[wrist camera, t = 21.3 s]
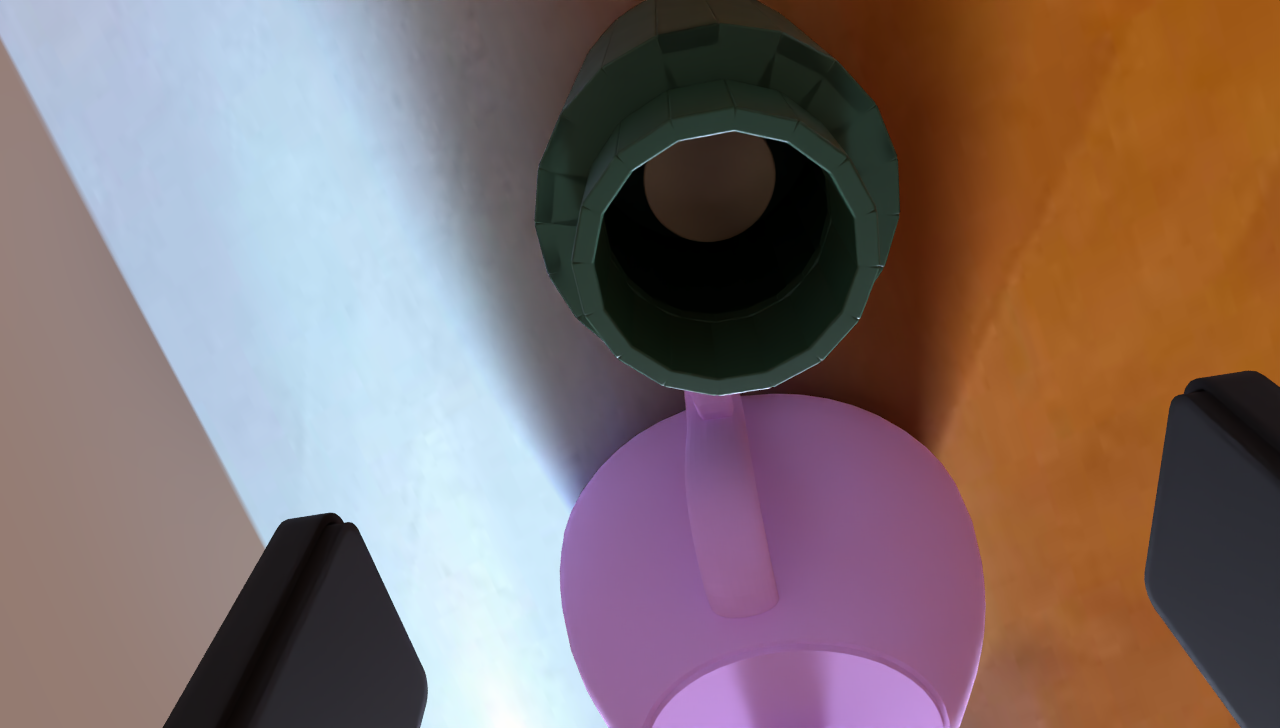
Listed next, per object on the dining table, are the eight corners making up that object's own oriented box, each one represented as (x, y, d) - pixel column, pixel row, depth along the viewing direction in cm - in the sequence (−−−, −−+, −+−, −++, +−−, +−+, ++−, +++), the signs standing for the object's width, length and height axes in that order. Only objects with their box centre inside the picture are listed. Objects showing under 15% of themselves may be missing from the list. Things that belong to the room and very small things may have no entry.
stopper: (658, 194, 30) (659, 255, 25) (633, 89, 28) (628, 131, 23) (762, 170, 29) (785, 227, 24) (742, 61, 28) (763, 97, 22)
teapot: (487, 376, 34) (398, 628, 22) (915, 261, 32) (1075, 478, 20) (658, 749, 46) (659, 1046, 34) (982, 688, 43) (1109, 988, 31)
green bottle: (600, 263, 32) (570, 461, 20) (543, 17, 28) (467, 93, 16) (834, 223, 31) (939, 406, 20) (813, -39, 27) (933, 0, 15)
